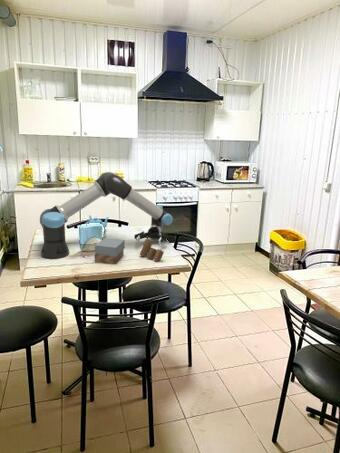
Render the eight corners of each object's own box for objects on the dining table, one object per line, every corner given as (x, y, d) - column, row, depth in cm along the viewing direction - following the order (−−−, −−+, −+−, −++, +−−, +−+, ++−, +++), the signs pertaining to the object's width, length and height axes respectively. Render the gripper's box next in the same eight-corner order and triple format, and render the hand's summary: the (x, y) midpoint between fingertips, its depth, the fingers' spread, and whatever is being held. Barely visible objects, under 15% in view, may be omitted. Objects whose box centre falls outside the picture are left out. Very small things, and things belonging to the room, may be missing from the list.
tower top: (95, 254, 186) (94, 245, 185) (105, 246, 199) (105, 237, 198) (116, 256, 184) (115, 247, 182) (124, 248, 197) (124, 239, 196)
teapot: (81, 234, 235) (81, 219, 232) (90, 228, 249) (89, 214, 246) (102, 236, 232) (101, 221, 230) (109, 229, 247) (109, 216, 244)
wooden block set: (161, 265, 192) (168, 248, 192) (149, 262, 187) (156, 244, 187) (146, 253, 207) (152, 238, 206) (134, 250, 202) (141, 234, 201)
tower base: (94, 263, 187) (94, 254, 185) (103, 254, 200) (103, 246, 199) (116, 265, 185) (116, 256, 184) (123, 256, 198) (123, 248, 197)
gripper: (172, 238, 225) (168, 249, 205) (135, 235, 228) (127, 246, 208) (173, 227, 223) (168, 237, 203) (135, 225, 226) (127, 234, 206)
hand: (148, 241), depth 205 cm, fingers open, 13 cm apart
